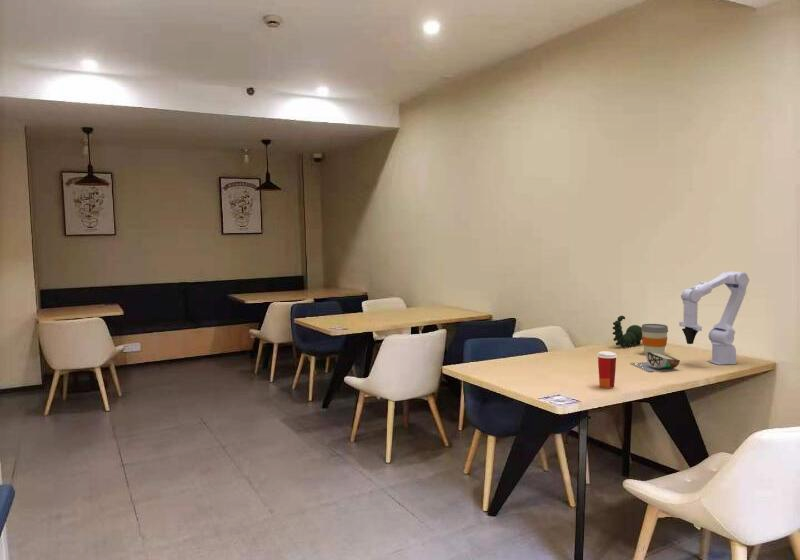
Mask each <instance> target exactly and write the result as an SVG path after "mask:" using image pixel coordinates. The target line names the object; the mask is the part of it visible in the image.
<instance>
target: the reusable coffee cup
mask: <svg viewBox="0 0 800 560" xmlns="http://www.w3.org/2000/svg"><path fill="white" fill-rule="evenodd" d="M641 327H642V328H641V331H642V340H641V343H642V346H643V349H644V350H643V351H644V355H645V354H646V352H647V351H648V352H653V353H659V354H665V348H666V346H667V343H668V332H669V328H668V325H666V324H659V323H644V324H643V323H642V324H641Z"/></svg>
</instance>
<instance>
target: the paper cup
mask: <svg viewBox="0 0 800 560" xmlns="http://www.w3.org/2000/svg"><path fill="white" fill-rule="evenodd" d="M596 357H597V362H598V363H597V364H598V383H599V387H600V388H602V387H603V388H602V389H614V388H615V380H616V367H617V366H616V365H617V358H618V356H617V353H616V352H613V351H606V350H605V351H598V353H597V355H596ZM613 387H614V388H613Z"/></svg>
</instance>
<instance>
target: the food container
mask: <svg viewBox="0 0 800 560" xmlns="http://www.w3.org/2000/svg"><path fill="white" fill-rule="evenodd" d="M645 358H646V362H648V364H649V365H650V366H652V367H653V368H656V369H660V368H672V369H675V368H677V367H678V366H679V364H680V362H681V360H680V359H679V358H676V357H673V356H670V355H668V354H665V353H664V354H659V353H653V352H648V351H647V352H646V355H645Z"/></svg>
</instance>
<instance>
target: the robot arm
mask: <svg viewBox="0 0 800 560" xmlns="http://www.w3.org/2000/svg"><path fill="white" fill-rule="evenodd" d="M749 282H750V277H749V275H748V273H746V272H745V271H730V270H726V271H724V272H722V273H721V274H719V275H718V276H717V277H714V278H713V279H711V280H710V281H708V282H707V281H700V282H699V284H697V285H693V286H691V288H686V289H684V290H683V291H682V292H681V294H680V298H681V301H682V304H683V321H679V324H678V326H679V327H683V328H682V329H681V330H682V332H683V334H684V337H685V340H686V341H685V342H686V344H688V345H694V342H695V338H696V336H697V334H698V333H699V332H702V331H703V326H700V325H699V324H698V309H699V308H698V305H699V304H698V302H700V300H702V299H701V298H702V297H705V296H706V295H709V294H710V293H712V290H713V289H716V288H718V287H720V286H722V285H725V286H726V287H727V289H729V291H730V292H731V293H730V296H729V298H728V300H727V303H726V305H725V308H724V310H723V313H722V315H721V318H720V320H719V322H718V323H716V324H715V325H713V327H712V329H711V330H710V331H709V332H708V339H709V340H710V343H711V345H712V346H711V350H712V351H711V359H709V360H707V361H708V362H709V363H712V364H715V365H718V366H719V365H720V366H721V365H724V366H725V365H737V364H738V363H737V349H736V347H735V345H734V344H733V343H734V340H735V334H736V331H735V329H734V327H733V326H734V323H735V321H736V317H737V316H738V313H739V311H740V308H741V305H742V303H743V300H744V298H745V296H746V294H747V287H748V285H749Z"/></svg>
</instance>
